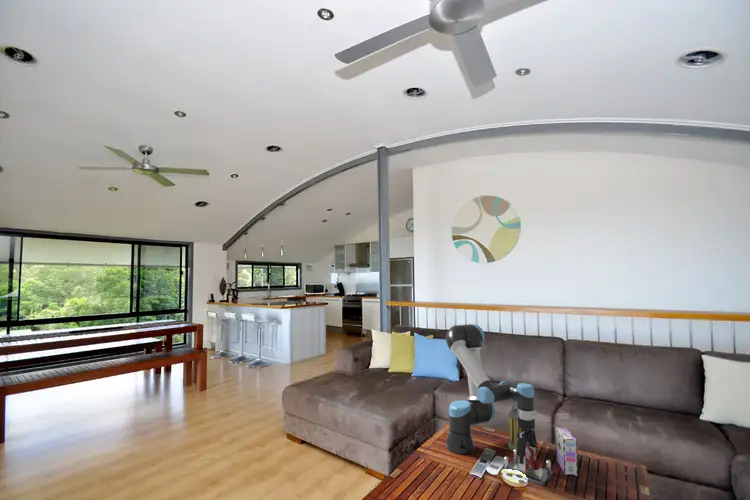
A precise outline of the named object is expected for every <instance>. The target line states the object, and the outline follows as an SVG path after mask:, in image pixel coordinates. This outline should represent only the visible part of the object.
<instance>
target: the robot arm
mask: <svg viewBox="0 0 750 500" xmlns="http://www.w3.org/2000/svg"><path fill="white" fill-rule="evenodd" d="M485 338H486V337H485V332H484V330H483V328H482V327H480V326H479V325H478V324H471V323H470V324H459V325H458V324H457V325H453V326H451V327H449V328H448V330H447V332H446V335H445V339H446V340H445V341H446V346H447V347H448V349H449V350H450V352H451V353H454V355H455V356H456V358H457V359H458V361H459V362H460V364H461V366H462V367H463V368H464V370H465V371H466V375H467V382H468V390H469V396H468V397H467V400H464V399H463V400H460V399H459V400H455V401H452V402H451V403H450V404H449V406H448V407H449V408H448V421H449V422H448V425H449V426H448V427H449V429H448V430H449V431H448V435H447V438H446V442H445V447H446V449H447V450H448V451H450V452H452V453H454V454H459V455H468V454H471V453H474V452H475V451H476V444H475V440H474V438H473V434H472V427H475V426H479V425H485V424H486V425H487V424H488V423H491V422H493V420H495V417H496V408H495V404H493V403H496V402H505V401H508V400H510V401H513V402H514V403H515V402H517V407H518V420H517V426H518V425H519V426H520V427H521V433H518V432H517V433H518V438H517V439H518V445H517V456H519V470H522V471H524V472H525V471H526V462H525V456H524V455H525V450H526V445H527V442H529V445H530V446H531V448H532V449H533V450H534V460H536V452H535V448H536V449H537V448H538V445H537V444H538V442H537V435H536V431H535V427H536V419H534V418H535V417H536V412H535V388H534V386H533V385H532V384H530V383H525V382H521V383H517V385H516V384H514V383H511V382H509V381H504V380H503V381H500V382H499V383H498V384H496V385H495V384H493V383H492V381H491V380H490V378H489V377H488V376H487V374H486V372H485V371H484V370H483V366H482V357H481V352H480V351H481V349H482V348H483V347H482V345H483V343H484V342H485ZM534 447H535V448H534Z"/></svg>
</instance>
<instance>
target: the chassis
mask: <svg viewBox="0 0 750 500" xmlns="http://www.w3.org/2000/svg"><path fill="white" fill-rule="evenodd" d="M551 462H552V461H551V460H550V459H546V469H545V468H542V467H540V466H539V468H538V470H534V469H530V468H529V467H528V470H527V471H525V472H524V471H522V470H519V464H518V461H517V449H514V451H513V460H511V461H509V456H504V467H503V468H502V470H503V469H512V470H518V471H520V472H522V473H523V474H525V475H526V477H527V478H528V480H527V481H530V482H531V483H535V484H538V485H540V486H543V485H545V484H546V482H547V481H548V480H549V479H550V478H551V477H552V476H553V473H554V472H553V471H552V463H551Z"/></svg>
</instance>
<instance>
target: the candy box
mask: <svg viewBox="0 0 750 500" xmlns="http://www.w3.org/2000/svg"><path fill="white" fill-rule="evenodd" d="M554 430H555V448H556V451H555V452H556V462H557V464H558V465H559V467H560V468H561V471H562V472H563V474H564V475H567V476H574V477H575V476H576V477H578V458H577V457H578V455H577V454H578V452H577V450H578V449H577V439H576V437H575V436H574V435H573V434H572V432H571V431H570V430H569V428H566V427H555V429H554Z"/></svg>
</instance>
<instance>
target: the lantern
mask: <svg viewBox="0 0 750 500" xmlns="http://www.w3.org/2000/svg"><path fill="white" fill-rule="evenodd" d="M507 415H508V427H509V429H508V430H509V441H507V445H508V446H507V447H508V448H509V450H511V451H512V452H514V449H517V445H518V433H521V427H520V426H519V425H518V404H517V402H515V401H514V403H513V404H512V406H511V408H510V409H509V411H508V412H507ZM534 420H536V419H535V418H534ZM527 445H528V446H530V445H529V442H527ZM530 447H531V446H530ZM534 448H535V447H534ZM536 452H537V448H535V453H536Z"/></svg>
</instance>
